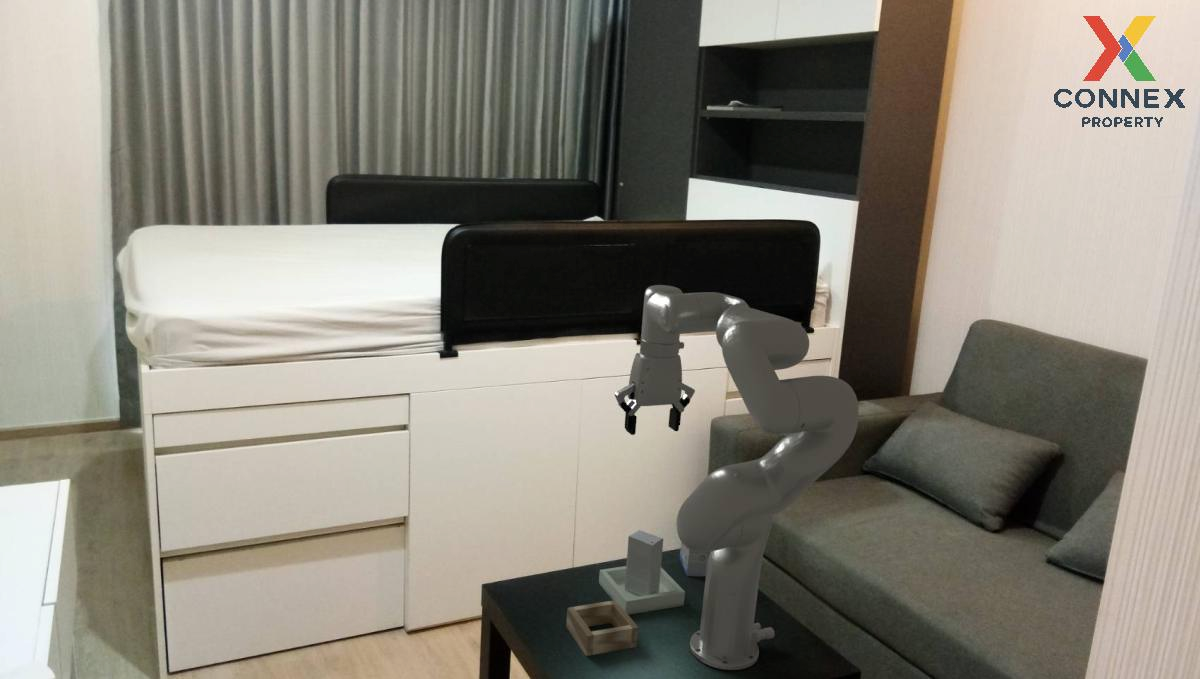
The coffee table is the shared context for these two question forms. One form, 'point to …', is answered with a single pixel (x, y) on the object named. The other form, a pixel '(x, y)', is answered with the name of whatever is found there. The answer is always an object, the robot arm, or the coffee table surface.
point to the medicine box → (693, 561)
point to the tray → (633, 603)
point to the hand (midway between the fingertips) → (652, 430)
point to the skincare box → (643, 563)
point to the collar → (601, 639)
